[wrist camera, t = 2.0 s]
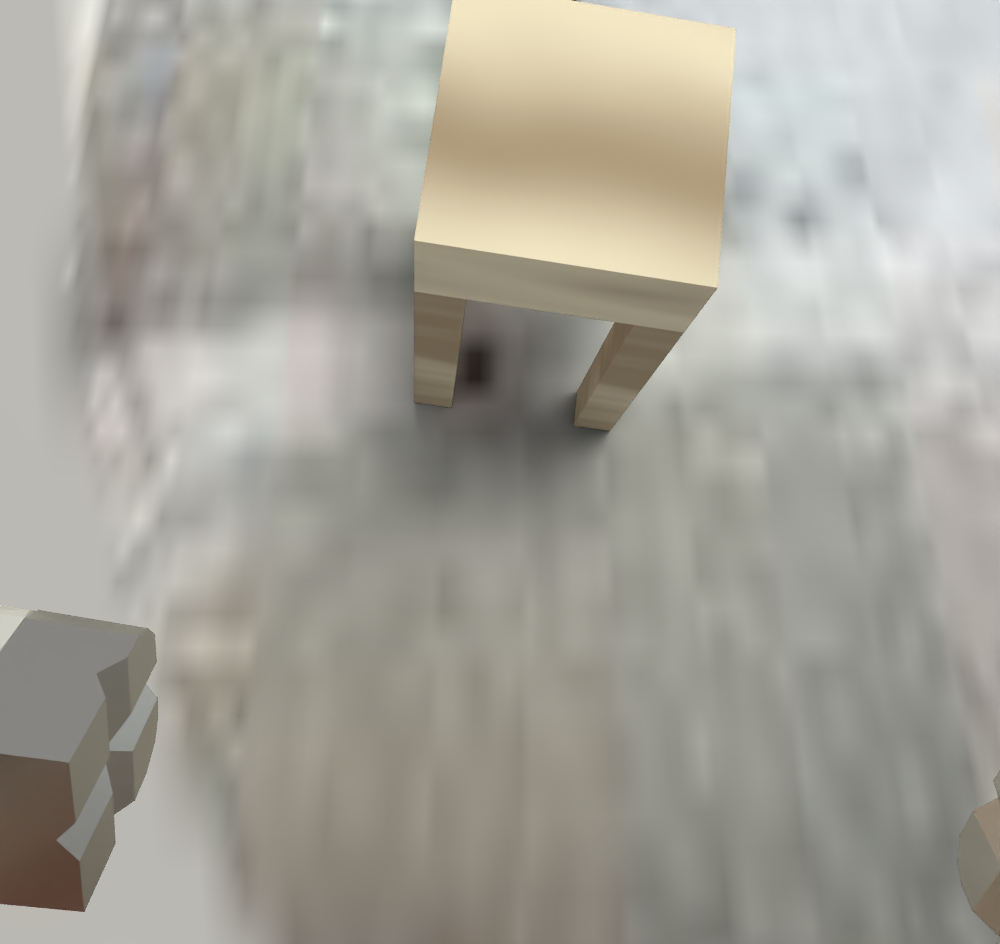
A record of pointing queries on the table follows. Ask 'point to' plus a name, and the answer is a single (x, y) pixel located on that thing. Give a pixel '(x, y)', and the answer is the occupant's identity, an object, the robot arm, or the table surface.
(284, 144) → the table surface
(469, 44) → the stool
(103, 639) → the robot arm
